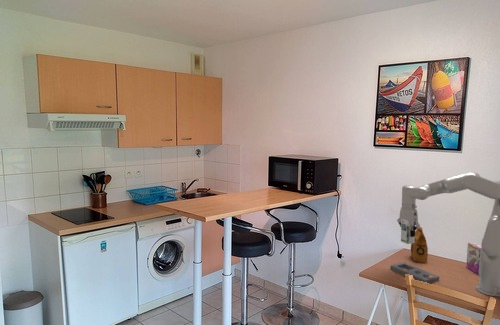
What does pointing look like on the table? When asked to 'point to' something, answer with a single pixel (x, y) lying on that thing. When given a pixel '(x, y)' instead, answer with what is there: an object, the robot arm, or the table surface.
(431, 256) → the table surface
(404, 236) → the syrup box
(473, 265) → the candy bar box
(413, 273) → the gray compartment tray
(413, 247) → the coffee package
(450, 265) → the table surface
